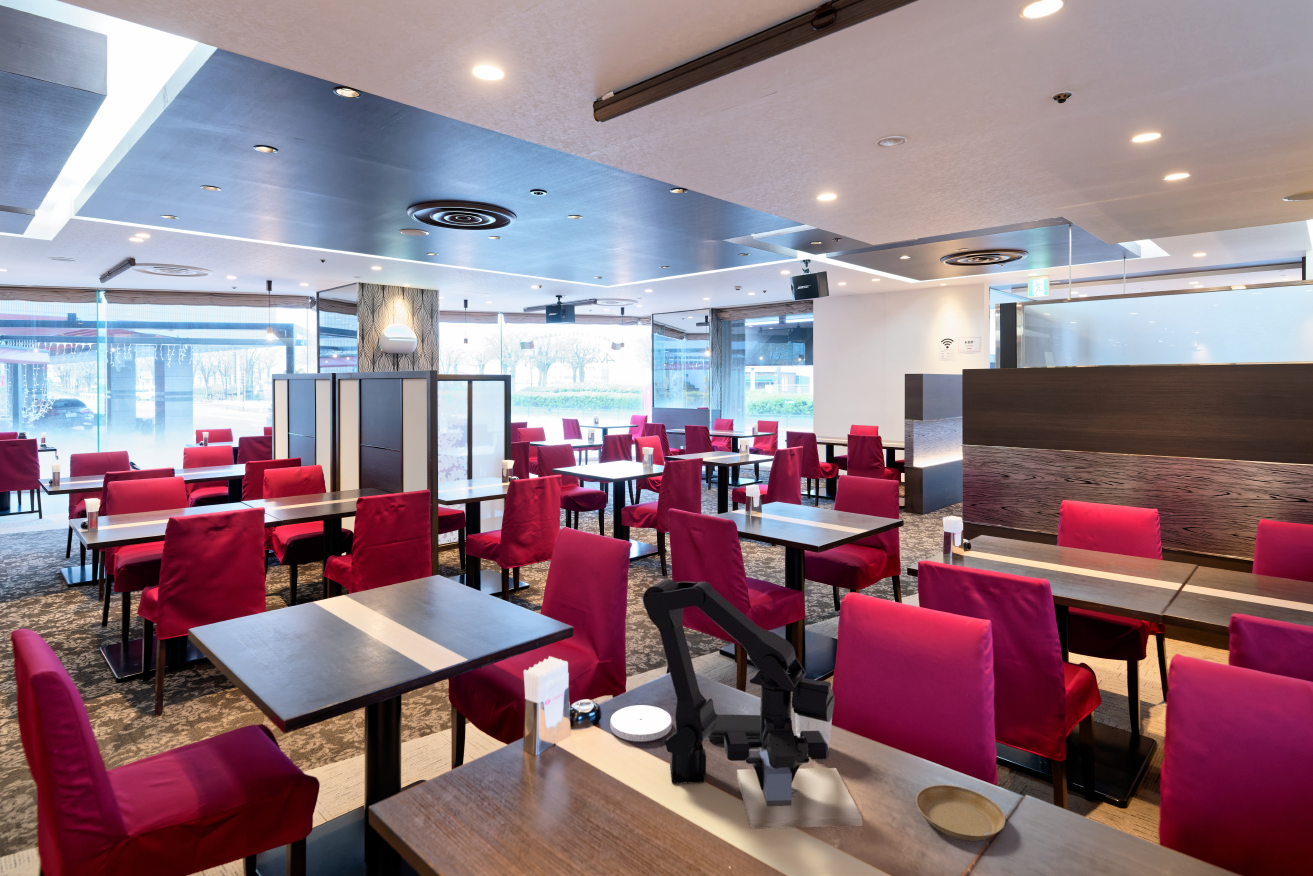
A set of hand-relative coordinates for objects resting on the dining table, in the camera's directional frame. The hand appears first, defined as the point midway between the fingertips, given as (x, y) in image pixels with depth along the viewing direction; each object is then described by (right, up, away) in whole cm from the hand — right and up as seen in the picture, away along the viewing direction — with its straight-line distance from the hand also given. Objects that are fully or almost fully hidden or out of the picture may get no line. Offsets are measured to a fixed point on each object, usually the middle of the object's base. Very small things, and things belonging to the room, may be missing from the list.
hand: (774, 788), depth 128 cm
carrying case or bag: (-4, -1, +25) cm, 25 cm away
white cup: (+12, -1, +19) cm, 22 cm away
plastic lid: (-26, -1, +27) cm, 38 cm away
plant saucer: (+32, -3, -6) cm, 33 cm away
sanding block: (0, -1, 0) cm, 1 cm away
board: (+4, -2, 0) cm, 5 cm away
